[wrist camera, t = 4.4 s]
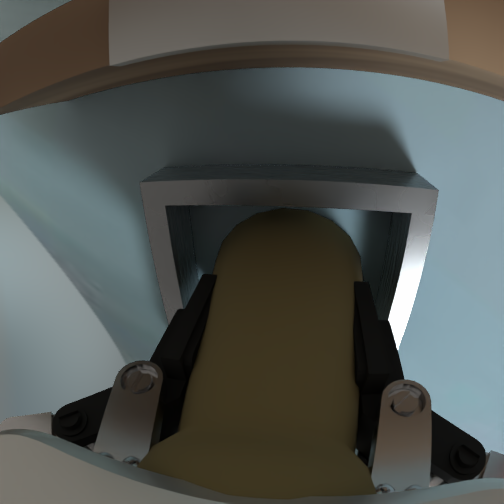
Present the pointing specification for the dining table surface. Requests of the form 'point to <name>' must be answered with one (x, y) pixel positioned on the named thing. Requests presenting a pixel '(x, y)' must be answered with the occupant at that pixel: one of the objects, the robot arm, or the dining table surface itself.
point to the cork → (274, 368)
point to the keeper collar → (291, 195)
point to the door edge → (249, 43)
